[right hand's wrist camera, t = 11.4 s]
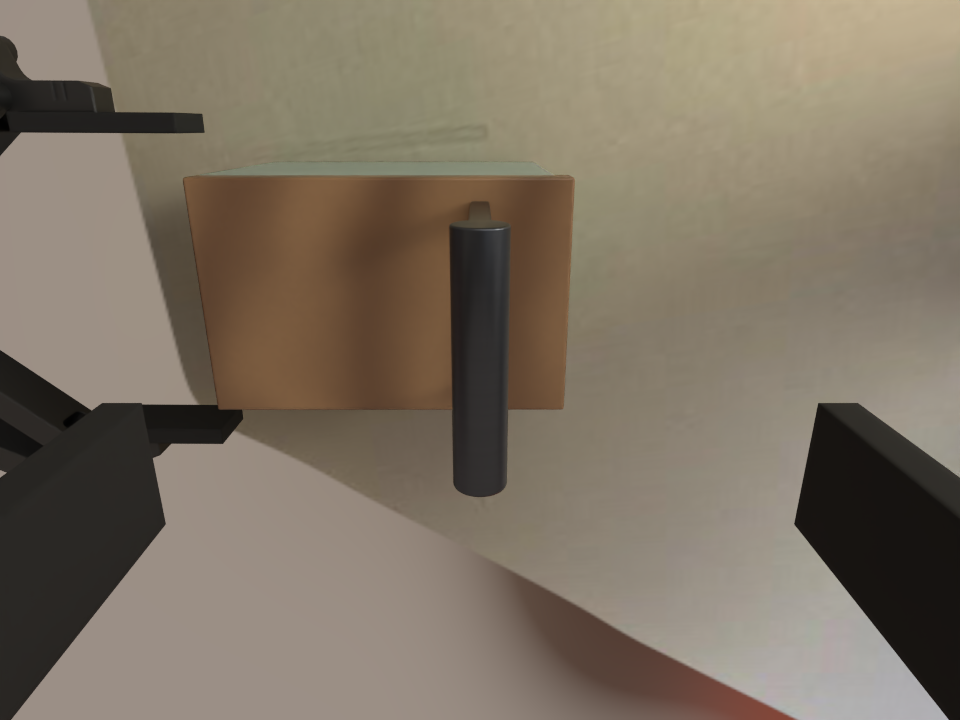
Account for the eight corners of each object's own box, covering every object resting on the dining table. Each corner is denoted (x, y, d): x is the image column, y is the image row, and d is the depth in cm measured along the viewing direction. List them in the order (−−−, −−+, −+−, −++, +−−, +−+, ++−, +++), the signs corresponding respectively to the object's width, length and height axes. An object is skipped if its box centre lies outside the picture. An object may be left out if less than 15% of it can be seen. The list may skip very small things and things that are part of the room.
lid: (570, 174, 24) (619, 200, 16) (560, 397, 27) (595, 517, 19) (196, 174, 24) (45, 200, 16) (228, 398, 27) (118, 517, 19)
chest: (534, 161, 33) (555, 174, 24) (529, 329, 36) (546, 397, 27) (274, 161, 33) (196, 175, 24) (291, 329, 36) (229, 397, 27)
